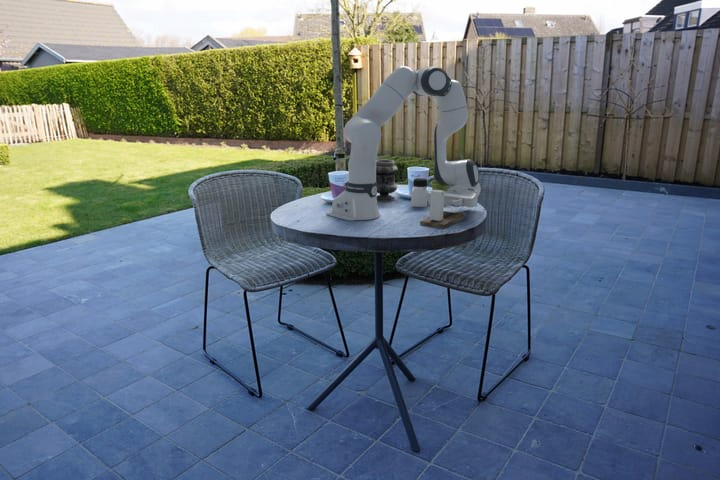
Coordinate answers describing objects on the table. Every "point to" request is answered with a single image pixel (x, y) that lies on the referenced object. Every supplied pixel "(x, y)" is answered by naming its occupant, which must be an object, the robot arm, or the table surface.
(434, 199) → the white upright block
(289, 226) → the table surface
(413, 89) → the robot arm
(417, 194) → the medicine bottle
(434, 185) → the plant pot
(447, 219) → the slider board
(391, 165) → the dark footed urn
